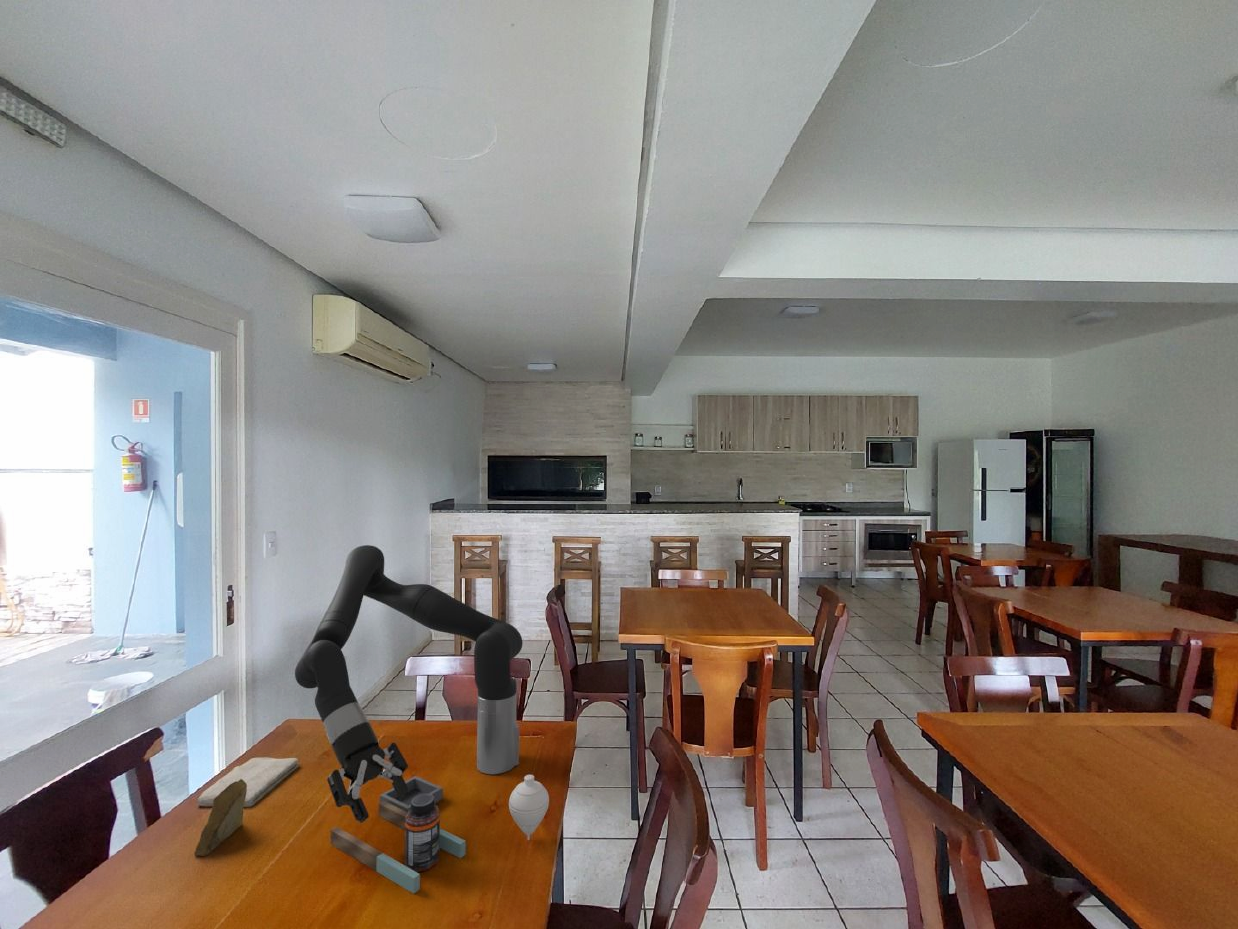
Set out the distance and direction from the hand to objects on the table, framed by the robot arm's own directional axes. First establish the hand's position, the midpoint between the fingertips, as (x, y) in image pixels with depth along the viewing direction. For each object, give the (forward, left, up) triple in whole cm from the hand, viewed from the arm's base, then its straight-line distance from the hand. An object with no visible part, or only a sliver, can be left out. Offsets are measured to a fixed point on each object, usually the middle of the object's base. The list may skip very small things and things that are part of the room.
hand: (385, 808), depth 105 cm
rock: (+27, -19, -7) cm, 33 cm away
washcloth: (+21, -38, -7) cm, 44 cm away
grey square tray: (-7, -11, -6) cm, 14 cm away
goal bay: (-5, +9, -6) cm, 12 cm away
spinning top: (-23, +14, -7) cm, 28 cm away
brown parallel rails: (0, -2, -6) cm, 7 cm away
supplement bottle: (-5, +9, -7) cm, 12 cm away
